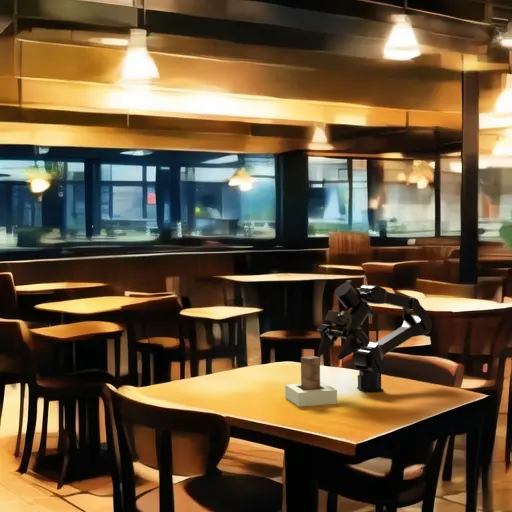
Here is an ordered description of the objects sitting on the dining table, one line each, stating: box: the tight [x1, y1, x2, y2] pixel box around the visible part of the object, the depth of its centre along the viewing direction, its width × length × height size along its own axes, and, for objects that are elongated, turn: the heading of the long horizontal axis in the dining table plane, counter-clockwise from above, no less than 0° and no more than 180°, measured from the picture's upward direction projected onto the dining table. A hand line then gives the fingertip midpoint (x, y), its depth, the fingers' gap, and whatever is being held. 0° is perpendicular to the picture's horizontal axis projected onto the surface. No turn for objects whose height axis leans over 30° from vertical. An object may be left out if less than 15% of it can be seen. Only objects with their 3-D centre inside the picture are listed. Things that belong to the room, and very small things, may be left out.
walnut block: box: [300, 355, 321, 391], centre depth 220 cm, size 4×4×12 cm
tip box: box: [284, 381, 338, 408], centre depth 221 cm, size 12×12×4 cm
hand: (328, 357), depth 224 cm, fingers open, 9 cm apart
